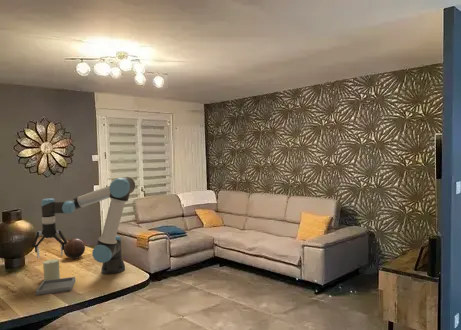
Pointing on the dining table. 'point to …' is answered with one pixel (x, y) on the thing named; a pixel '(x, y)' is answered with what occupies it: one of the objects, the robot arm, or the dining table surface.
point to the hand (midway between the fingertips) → (50, 256)
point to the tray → (55, 286)
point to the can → (51, 269)
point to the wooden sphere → (74, 248)
